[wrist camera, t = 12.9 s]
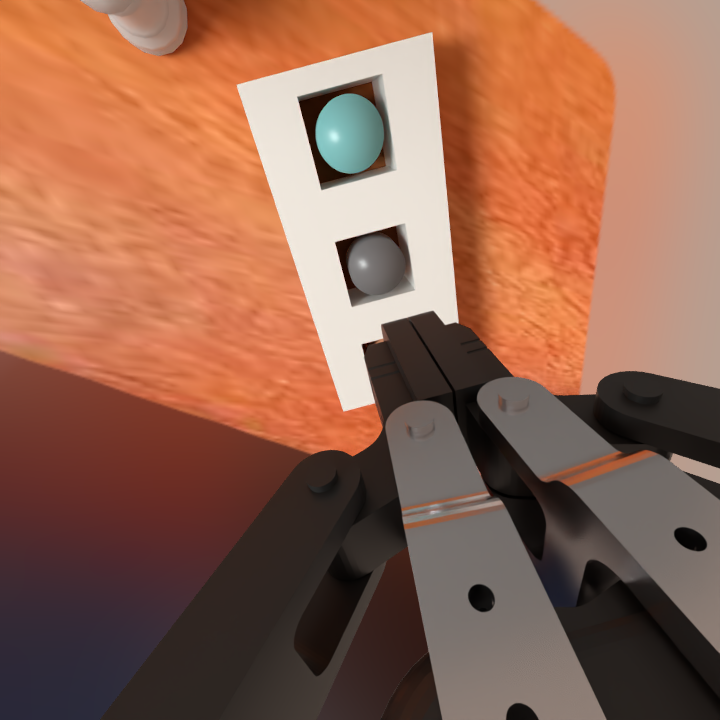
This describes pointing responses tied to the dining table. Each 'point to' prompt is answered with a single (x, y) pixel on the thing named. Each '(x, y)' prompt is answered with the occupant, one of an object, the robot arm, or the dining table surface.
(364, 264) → the charcoal button
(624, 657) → the robot arm
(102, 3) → the rook chess piece
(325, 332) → the button console
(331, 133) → the teal button
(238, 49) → the dining table surface
